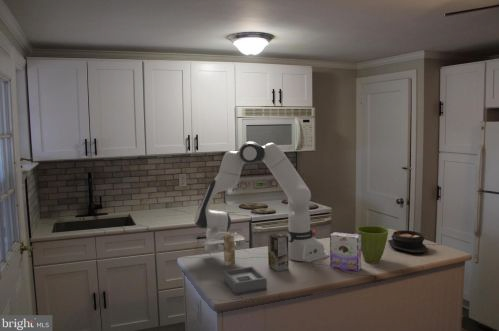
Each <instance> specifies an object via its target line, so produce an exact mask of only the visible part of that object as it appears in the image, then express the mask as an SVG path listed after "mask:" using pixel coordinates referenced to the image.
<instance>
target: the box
mask: <svg viewBox="0 0 499 331" xmlns="http://www.w3.org/2000/svg"><path fill="white" fill-rule="evenodd" d="M222 275H223V276H222V278H223V279H222V280H223V283H224V284H225V285H226V287H227V288H228V289H229V290H230V291H231V292H232V293H233V294H234V295H235V296H239V295H245V294H246V295H247V294H250V293H256V292H260V291H261V292H262V291H267V290H268V287H267V283H268V282H267V277H266V276H265V275H263V274H262V273H261V272H260V271H259V270H257V269H256V268H255V267H254V266H246V267H240V268H239V267H238V268H234V269H226V270H222Z"/></svg>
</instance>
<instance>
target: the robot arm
mask: <svg viewBox="0 0 499 331" xmlns="http://www.w3.org/2000/svg"><path fill="white" fill-rule="evenodd" d="M259 162H263V163H264V164H265V166H267V168H268V170H269V172H270V173H271V175H273V178H274V179H275V180H276V182H277V183H278V185H279V186H280V188H281V189H282V191H283V192H284V194H285V195H286V197H287V213H288V214H287V215H288V229H287V236H288V260H291V261H296V262H297V261H300V262H305V263H309V262H313V261H318V260H320V259H321V260H322V259H324V258H328V257H329V258H330V253H328V252H327V251H326V250H325V248H324V244H323V243H322V242H321V241H320V240H318V239H317V238H316V237H315V236H317V234H318V232H317V231H316V230H312V229H311V215H310V214H311V212H310V200H311V198H312V193H311V190H310V188H309V187H308V186H307V184H306V183H305V181H304V180H303V178H302V177H301V176H300V174H299V173H298V171H297V169H296V168H295V167H294V166H293V164H292V163H291V161H290V159H289V158H288V156H287V155H286V154H285V153H284V151H283V150H282V149H281V148H280V147H279V146H278V145H277V144H276V143H274V142H267V143H265V144H264V145H260V144H259V143H258V142H256V141H252V140H249V141H246V142H244V143H243V144H242V145H241V146H240V148H239V149H238V150H228V151H226V152H225V153H224V154H223V157H222V160H221V163H220V165H219V166H220V167H219V171H218V174H217V175H216V176H215V177H214V178H212V179H211V180H210V181H209V183H208V185H207V187H206V190H205V193H204V194H203V198H202V199H201V202H200V204H199V207H198V209H197V211H196V212H195V215H194V224H195V225H196V226H197V227H198V229H206V231H205V236H206V240H205V241H204V242H202V243H201V245H202V247H204V250H205V251H206V252H211V251H220V250H221V251H224V250H226V246H224V235H225V234H233V235H234V244H235V250H236V249H237V248H240V247H245V246H246V239H245V237H244V236H242V235H240V234H238V232H233V231H232V232H231V231H230V227H231V223H232V220H231V219H232V218H231V216H230V214H229V213H228V212H227V211H225V210H216V209H215V210H213V209H210V207H211V203H212V201H213V199H214V197H215V195H217V194H218V193H220V192H223V191H228V190H231V189H233V188H235V187H237V185H238V183H239V182H240V177H241V173H242V170H243V166H244V165H245V164H249V165H250V164H255V163H259Z"/></svg>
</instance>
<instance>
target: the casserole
mask: <svg viewBox="0 0 499 331" xmlns="http://www.w3.org/2000/svg"><path fill="white" fill-rule="evenodd" d="M424 241H425V237H424V235H423V234H422V233H421V232H418V231H414V230H396V231H394V232H393V234H392V235H391V239H387V243H389V246H390V247H392V248H393V249H397V250H399V251H402V252H409V253H413V254H415V253H427V252H428V251H430V249H429V248H428V247H427V246H426V245H425V244H424Z"/></svg>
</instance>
